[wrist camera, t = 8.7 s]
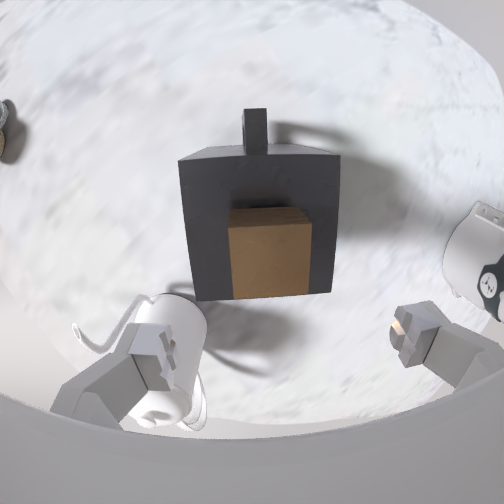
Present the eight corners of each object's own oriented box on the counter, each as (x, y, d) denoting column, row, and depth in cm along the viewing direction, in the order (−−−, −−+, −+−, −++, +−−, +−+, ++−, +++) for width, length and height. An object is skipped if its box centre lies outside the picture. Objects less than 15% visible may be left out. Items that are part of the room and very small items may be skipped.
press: (291, 117, 29) (339, 105, 15) (292, 223, 35) (330, 292, 20) (205, 121, 29) (174, 109, 14) (213, 227, 34) (196, 301, 20)
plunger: (280, 158, 30) (340, 195, 13) (281, 214, 33) (329, 312, 15) (220, 160, 30) (195, 201, 12) (224, 217, 32) (211, 320, 15)
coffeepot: (161, 234, 34) (103, 327, 17) (235, 362, 45) (237, 460, 27) (101, 261, 36) (32, 348, 19) (181, 375, 46) (167, 465, 29)
